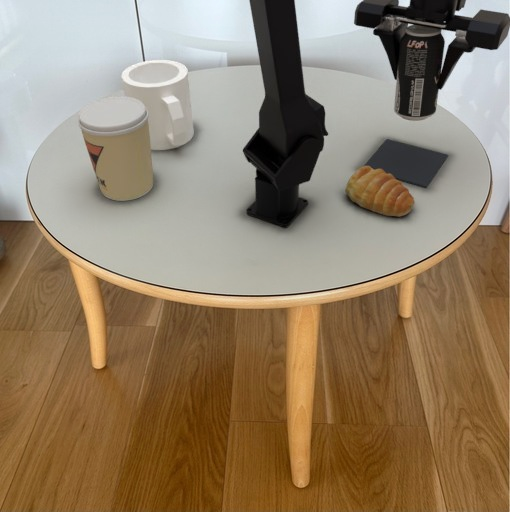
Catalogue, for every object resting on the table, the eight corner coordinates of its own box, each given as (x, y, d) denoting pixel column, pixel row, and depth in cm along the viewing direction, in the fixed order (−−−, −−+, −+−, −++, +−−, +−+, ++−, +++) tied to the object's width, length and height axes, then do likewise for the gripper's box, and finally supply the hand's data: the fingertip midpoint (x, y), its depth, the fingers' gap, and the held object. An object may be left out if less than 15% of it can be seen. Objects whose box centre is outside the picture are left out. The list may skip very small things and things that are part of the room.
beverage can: (420, 103, 85) (429, 19, 77) (443, 118, 80) (456, 30, 73) (386, 111, 83) (392, 26, 76) (408, 126, 79) (417, 38, 72)
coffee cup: (92, 175, 87) (73, 101, 79) (153, 164, 89) (141, 91, 81) (98, 210, 80) (79, 132, 72) (164, 197, 82) (153, 120, 74)
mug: (214, 147, 92) (209, 84, 85) (155, 166, 88) (145, 101, 81) (178, 114, 101) (170, 54, 94) (123, 130, 97) (111, 69, 90)
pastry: (423, 205, 79) (428, 182, 76) (394, 227, 76) (398, 204, 73) (368, 179, 84) (370, 156, 82) (338, 198, 81) (340, 176, 78)
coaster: (426, 188, 82) (426, 186, 82) (361, 169, 86) (361, 167, 86) (447, 156, 88) (448, 154, 88) (386, 140, 92) (386, 138, 92)
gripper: (536, -47, 70) (502, 76, 80) (391, -63, 78) (377, 51, 88) (515, -24, 63) (481, 108, 73) (358, -44, 71) (347, 78, 81)
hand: (418, 83), depth 79 cm, fingers closed on beverage can, 6 cm apart
